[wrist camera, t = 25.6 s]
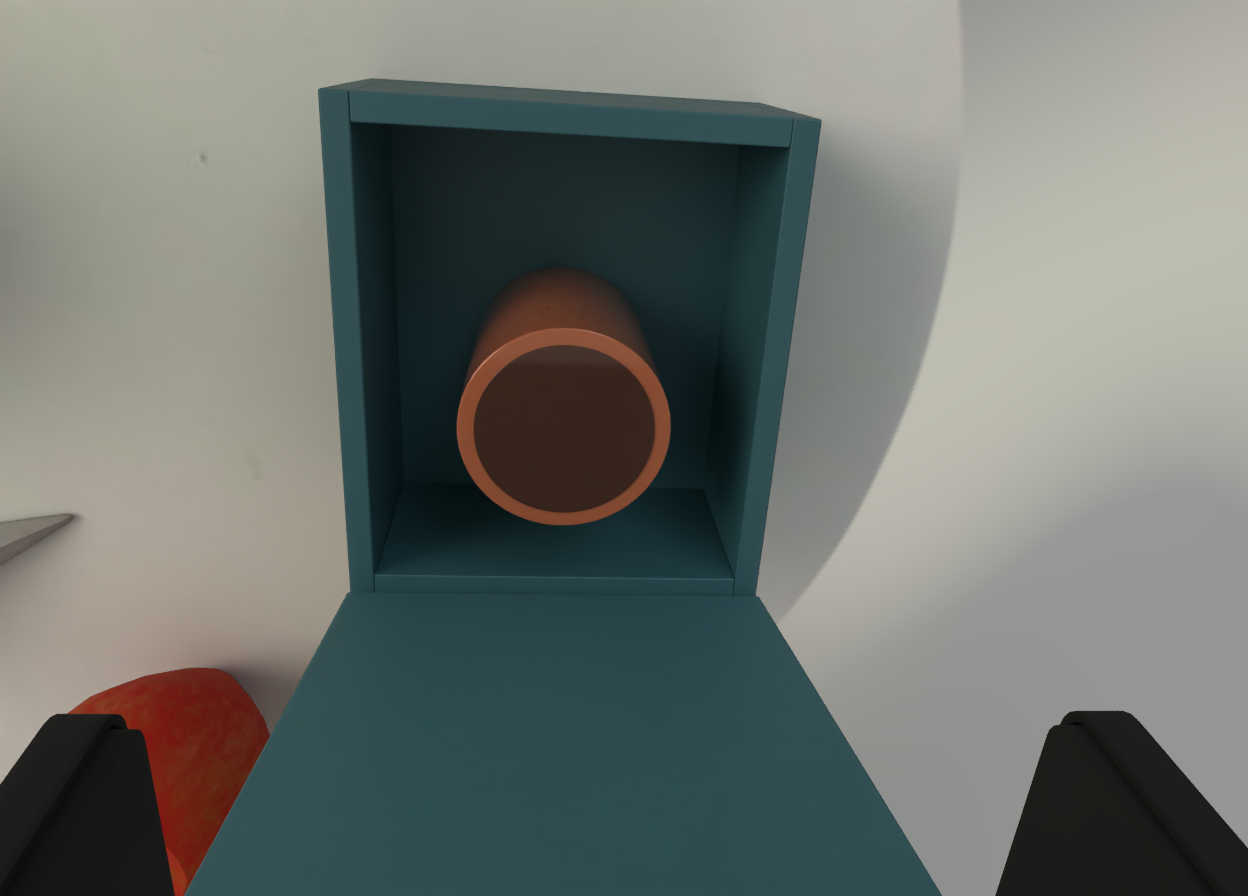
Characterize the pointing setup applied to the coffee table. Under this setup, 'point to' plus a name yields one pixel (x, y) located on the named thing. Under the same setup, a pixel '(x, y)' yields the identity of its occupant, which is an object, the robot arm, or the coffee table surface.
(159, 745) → the apple
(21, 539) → the grey triangular spike
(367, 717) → the cool box lid
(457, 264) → the cool box
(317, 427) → the coffee table surface
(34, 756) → the robot arm
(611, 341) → the cup
